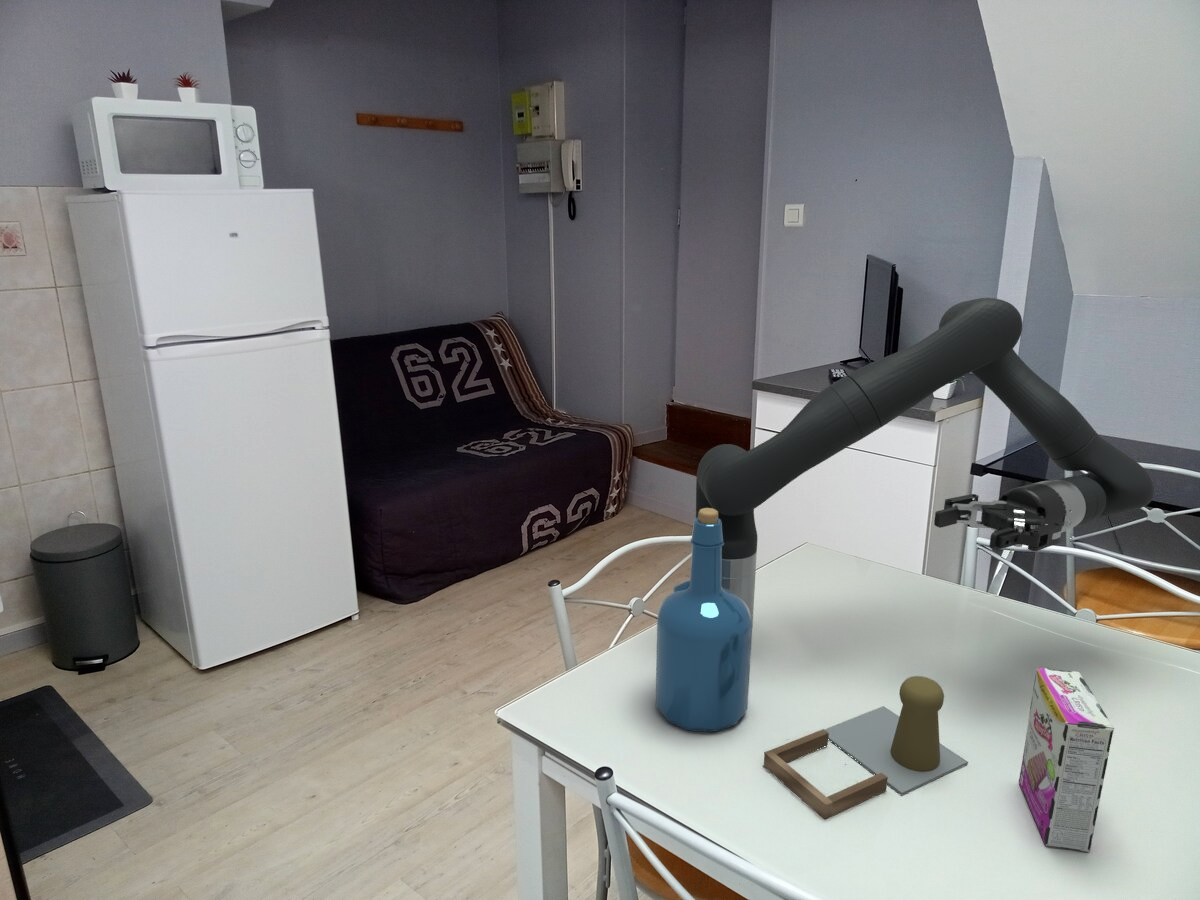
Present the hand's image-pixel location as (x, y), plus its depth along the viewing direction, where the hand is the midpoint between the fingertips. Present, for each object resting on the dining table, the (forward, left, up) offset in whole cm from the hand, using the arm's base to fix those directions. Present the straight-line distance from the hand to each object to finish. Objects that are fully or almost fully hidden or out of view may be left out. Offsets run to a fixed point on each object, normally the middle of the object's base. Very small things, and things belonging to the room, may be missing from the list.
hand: (963, 530), depth 108 cm
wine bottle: (-18, -28, -28) cm, 44 cm away
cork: (+5, -11, -28) cm, 30 cm away
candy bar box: (+20, -5, -28) cm, 35 cm away
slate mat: (+2, -12, -28) cm, 30 cm away
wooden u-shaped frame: (+2, -23, -28) cm, 36 cm away
